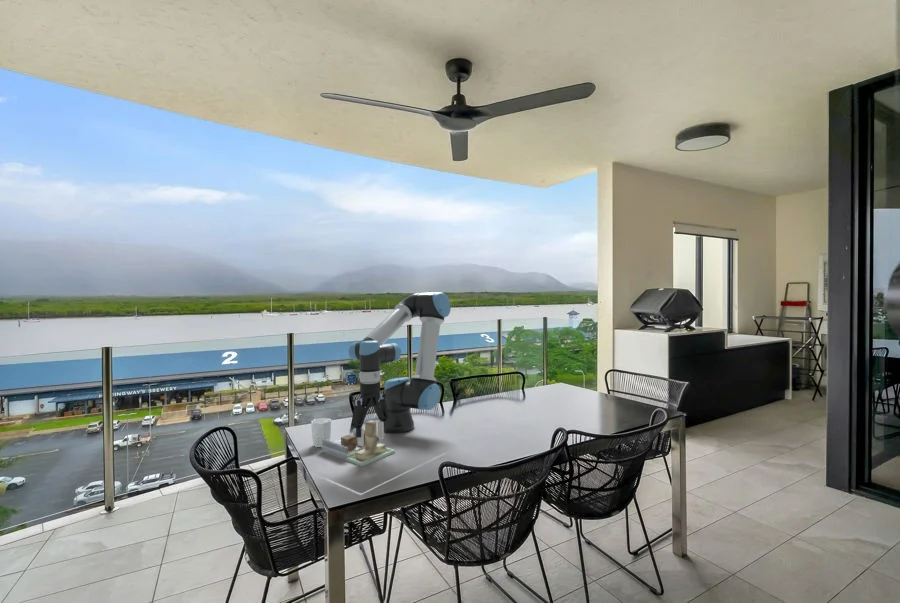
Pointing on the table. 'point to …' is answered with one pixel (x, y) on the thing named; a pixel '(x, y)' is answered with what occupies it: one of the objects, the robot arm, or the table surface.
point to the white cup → (320, 431)
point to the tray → (353, 458)
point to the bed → (341, 448)
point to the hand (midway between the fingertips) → (371, 441)
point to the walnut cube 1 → (348, 441)
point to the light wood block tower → (370, 443)
